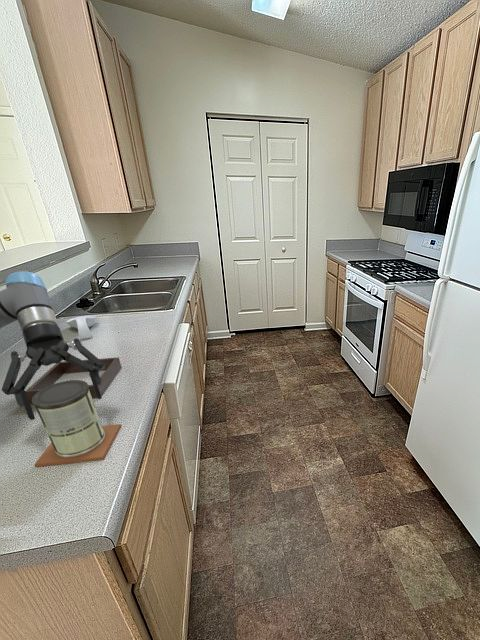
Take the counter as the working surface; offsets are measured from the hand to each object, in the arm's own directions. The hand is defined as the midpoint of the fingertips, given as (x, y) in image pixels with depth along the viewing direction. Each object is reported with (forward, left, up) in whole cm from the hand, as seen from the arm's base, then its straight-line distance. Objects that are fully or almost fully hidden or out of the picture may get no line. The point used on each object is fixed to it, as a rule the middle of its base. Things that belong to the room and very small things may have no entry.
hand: (67, 407), depth 78 cm
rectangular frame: (-11, +27, -8) cm, 30 cm away
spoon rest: (-29, +77, -8) cm, 82 cm away
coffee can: (+2, -4, -8) cm, 9 cm away
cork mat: (+2, -4, -8) cm, 10 cm away
